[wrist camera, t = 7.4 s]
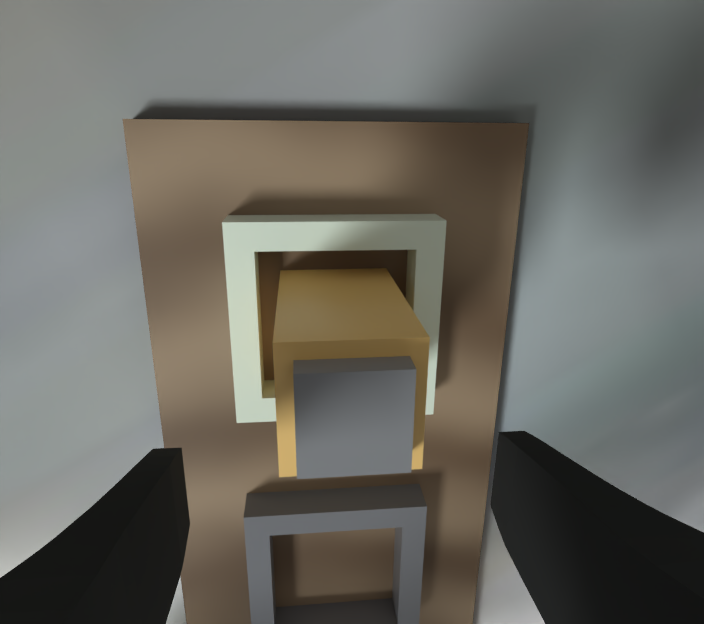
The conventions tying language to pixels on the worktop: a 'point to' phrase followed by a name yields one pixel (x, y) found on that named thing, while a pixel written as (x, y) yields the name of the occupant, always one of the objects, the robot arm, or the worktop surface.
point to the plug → (348, 375)
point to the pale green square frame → (322, 235)
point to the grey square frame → (329, 516)
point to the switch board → (214, 333)
